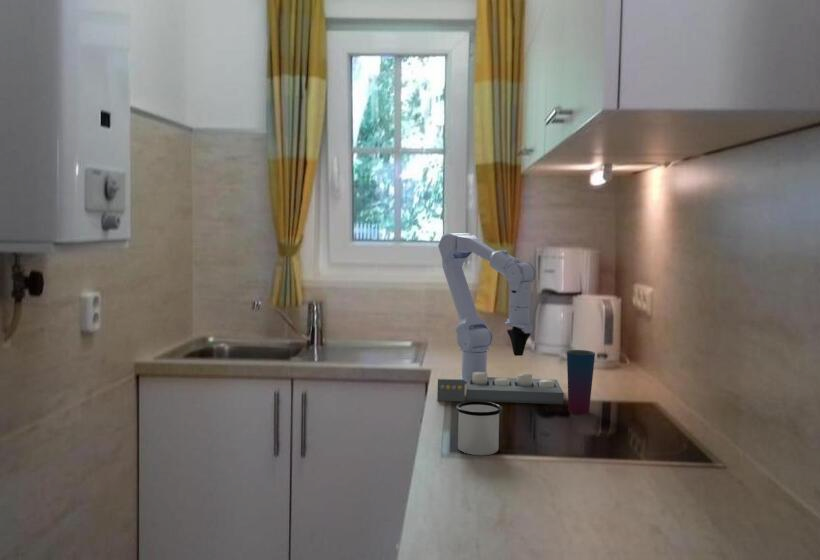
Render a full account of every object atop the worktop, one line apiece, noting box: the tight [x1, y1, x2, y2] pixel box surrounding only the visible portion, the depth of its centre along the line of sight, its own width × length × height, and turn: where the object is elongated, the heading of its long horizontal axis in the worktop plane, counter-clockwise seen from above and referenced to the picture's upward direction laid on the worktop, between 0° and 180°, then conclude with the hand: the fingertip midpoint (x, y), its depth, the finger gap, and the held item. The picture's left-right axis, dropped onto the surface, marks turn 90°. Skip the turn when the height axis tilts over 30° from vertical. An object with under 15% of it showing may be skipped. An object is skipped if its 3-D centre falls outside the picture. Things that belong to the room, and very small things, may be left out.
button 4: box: [539, 378, 554, 387], centre depth 203 cm, size 4×4×3 cm
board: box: [465, 376, 564, 405], centre depth 203 cm, size 16×25×3 cm, turn 85°
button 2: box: [494, 377, 509, 386], centre depth 204 cm, size 4×4×3 cm
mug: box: [455, 401, 503, 457], centre depth 156 cm, size 12×10×9 cm
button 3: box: [516, 372, 533, 387], centre depth 203 cm, size 4×4×3 cm
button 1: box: [472, 372, 488, 385], centre depth 204 cm, size 4×4×3 cm
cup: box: [566, 349, 596, 415], centre depth 186 cm, size 7×7×15 cm
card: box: [436, 378, 466, 402], centre depth 196 cm, size 1×7×6 cm, turn 86°
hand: (518, 355), depth 208 cm, fingers closed
